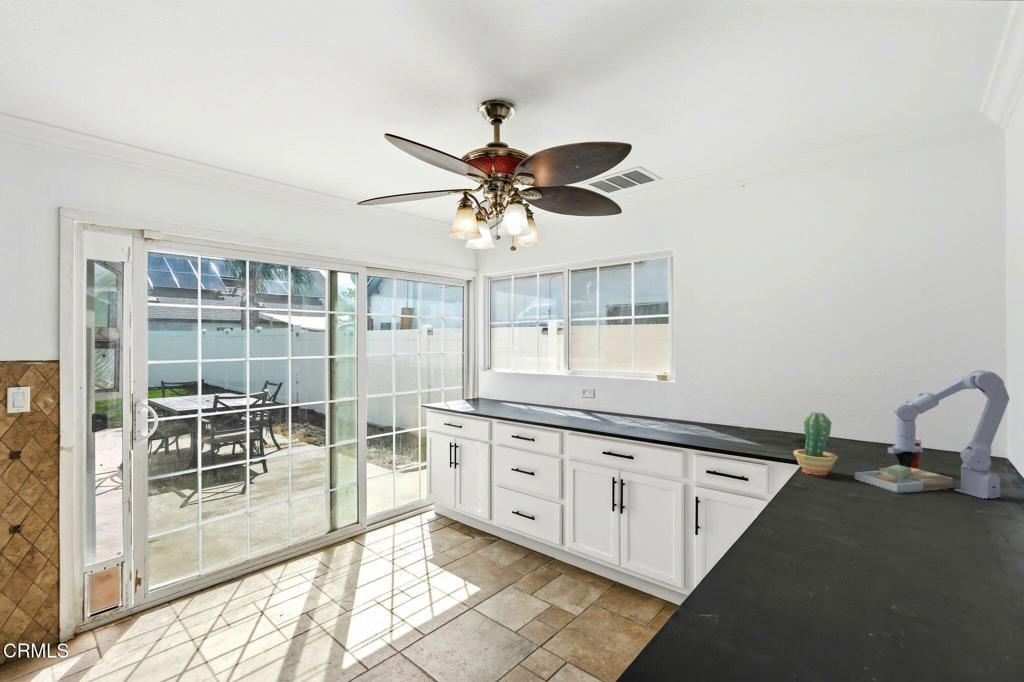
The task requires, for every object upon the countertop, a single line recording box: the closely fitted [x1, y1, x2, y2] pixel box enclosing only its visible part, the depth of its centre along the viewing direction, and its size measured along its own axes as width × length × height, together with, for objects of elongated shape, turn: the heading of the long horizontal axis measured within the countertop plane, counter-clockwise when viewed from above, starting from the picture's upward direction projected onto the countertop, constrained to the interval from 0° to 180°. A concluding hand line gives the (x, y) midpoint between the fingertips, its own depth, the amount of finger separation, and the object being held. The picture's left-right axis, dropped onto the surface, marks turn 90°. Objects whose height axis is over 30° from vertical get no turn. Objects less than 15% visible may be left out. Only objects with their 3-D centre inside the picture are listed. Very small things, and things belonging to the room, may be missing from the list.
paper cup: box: [910, 436, 923, 470], centre depth 196 cm, size 8×8×14 cm
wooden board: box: [878, 467, 953, 492], centre depth 179 cm, size 16×14×4 cm
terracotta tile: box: [874, 475, 897, 484], centre depth 175 cm, size 5×5×2 cm
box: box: [854, 470, 924, 494], centre depth 176 cm, size 16×12×3 cm
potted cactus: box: [792, 411, 839, 475], centre depth 191 cm, size 15×15×25 cm
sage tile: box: [886, 464, 912, 478], centre depth 177 cm, size 5×5×2 cm
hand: (904, 471), depth 178 cm, fingers closed
